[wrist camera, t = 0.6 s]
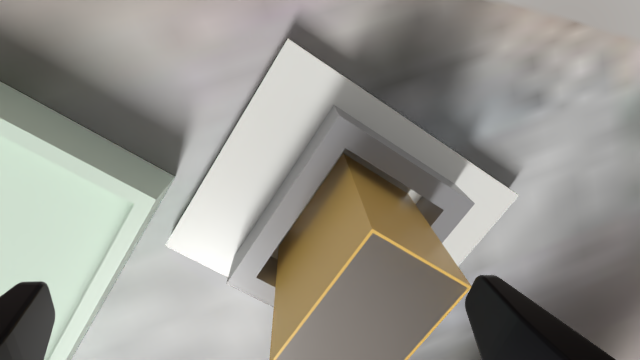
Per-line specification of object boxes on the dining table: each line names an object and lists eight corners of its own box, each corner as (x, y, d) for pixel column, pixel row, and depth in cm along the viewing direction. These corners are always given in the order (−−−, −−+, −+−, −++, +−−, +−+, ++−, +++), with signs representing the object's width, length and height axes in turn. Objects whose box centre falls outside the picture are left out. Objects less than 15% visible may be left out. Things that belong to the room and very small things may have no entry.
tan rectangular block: (408, 193, 21) (471, 286, 13) (341, 280, 22) (364, 407, 15) (343, 153, 20) (371, 228, 12) (278, 246, 21) (269, 364, 14)
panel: (509, 188, 22) (547, 216, 19) (379, 342, 25) (392, 389, 22) (288, 38, 19) (286, 39, 15) (170, 236, 22) (148, 272, 19)
